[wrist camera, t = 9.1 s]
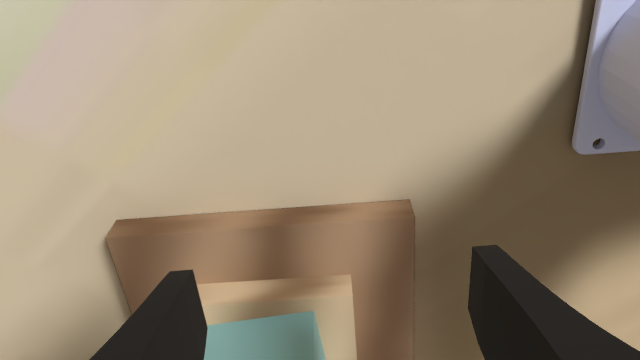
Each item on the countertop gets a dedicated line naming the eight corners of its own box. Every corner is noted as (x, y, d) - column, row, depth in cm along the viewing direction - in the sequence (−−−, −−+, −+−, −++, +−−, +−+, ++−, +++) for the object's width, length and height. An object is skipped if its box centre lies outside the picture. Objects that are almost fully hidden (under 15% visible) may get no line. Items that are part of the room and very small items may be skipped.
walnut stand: (409, 199, 24) (420, 236, 22) (409, 398, 31) (417, 445, 28) (116, 220, 25) (92, 258, 22) (179, 411, 32) (166, 458, 29)
